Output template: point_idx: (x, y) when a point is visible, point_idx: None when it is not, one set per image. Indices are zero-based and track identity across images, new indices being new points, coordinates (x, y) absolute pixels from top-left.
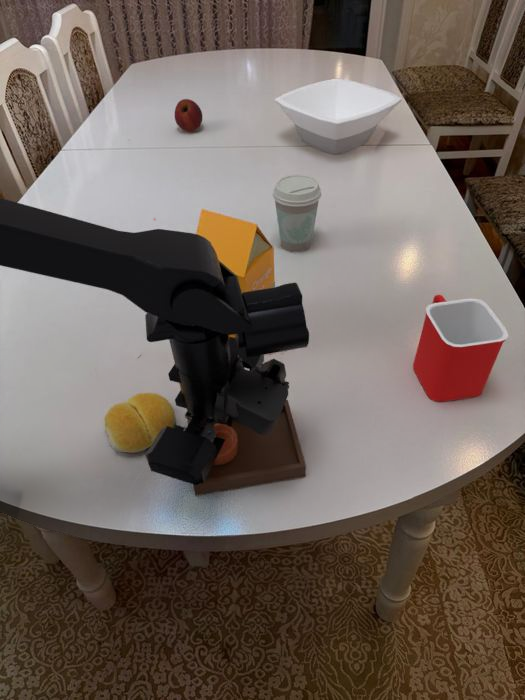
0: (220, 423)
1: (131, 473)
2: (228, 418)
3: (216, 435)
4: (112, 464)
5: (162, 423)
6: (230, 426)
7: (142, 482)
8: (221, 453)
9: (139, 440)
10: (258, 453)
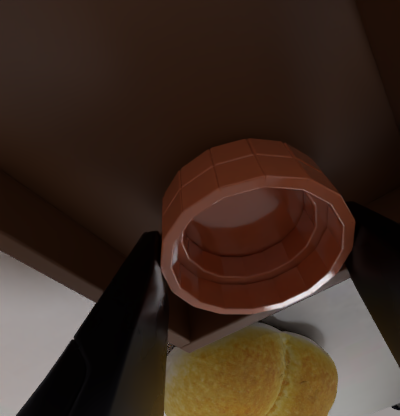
0: (167, 286)
1: (362, 317)
2: (149, 305)
3: (197, 248)
4: (345, 346)
5: (254, 382)
6: (156, 250)
7: None
8: (263, 194)
9: (317, 378)
10: (175, 35)
